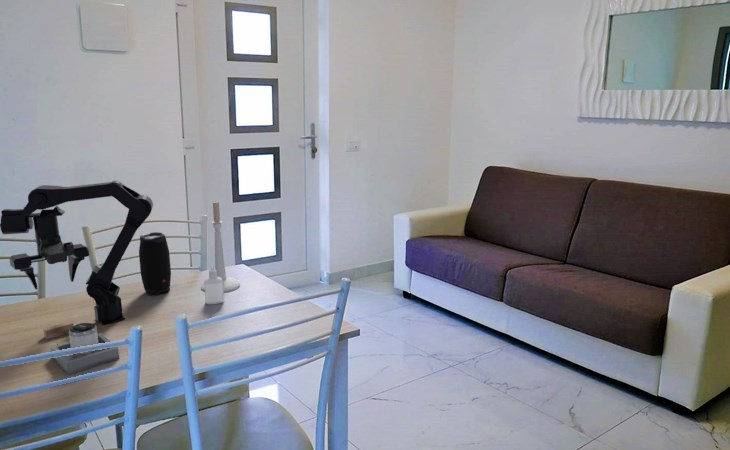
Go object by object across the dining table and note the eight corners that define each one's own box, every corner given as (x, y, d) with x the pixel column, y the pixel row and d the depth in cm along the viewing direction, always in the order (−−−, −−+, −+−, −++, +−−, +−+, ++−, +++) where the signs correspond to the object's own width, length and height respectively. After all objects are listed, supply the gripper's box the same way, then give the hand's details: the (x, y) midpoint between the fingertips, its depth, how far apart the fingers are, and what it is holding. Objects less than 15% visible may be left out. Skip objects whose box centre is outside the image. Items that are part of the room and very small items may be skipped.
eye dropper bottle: (219, 305, 175) (217, 269, 172) (203, 304, 176) (200, 268, 173) (226, 300, 179) (223, 264, 176) (210, 299, 180) (207, 263, 177)
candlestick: (240, 291, 187) (235, 203, 180) (200, 294, 184) (194, 205, 177) (239, 279, 199) (235, 196, 192) (202, 281, 196) (196, 198, 189)
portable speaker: (174, 293, 185) (169, 236, 181) (144, 298, 181) (139, 240, 176) (169, 285, 193) (164, 230, 188) (140, 290, 188) (135, 233, 184)
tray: (102, 343, 149) (101, 332, 148) (119, 358, 140) (118, 347, 140) (52, 357, 141) (51, 346, 140) (67, 375, 132) (66, 363, 132)
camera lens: (88, 362, 137) (84, 332, 135) (66, 359, 138) (62, 329, 136) (105, 350, 143) (101, 322, 141) (83, 348, 144) (80, 319, 142)
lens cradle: (72, 329, 157) (71, 321, 157) (89, 345, 147) (87, 336, 147) (44, 336, 153) (43, 328, 152) (60, 354, 143) (58, 345, 142)
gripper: (15, 243, 142) (24, 301, 146) (92, 231, 155) (99, 284, 158) (5, 235, 150) (13, 290, 154) (79, 224, 162) (85, 275, 166)
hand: (54, 285), depth 158 cm, fingers open, 9 cm apart
